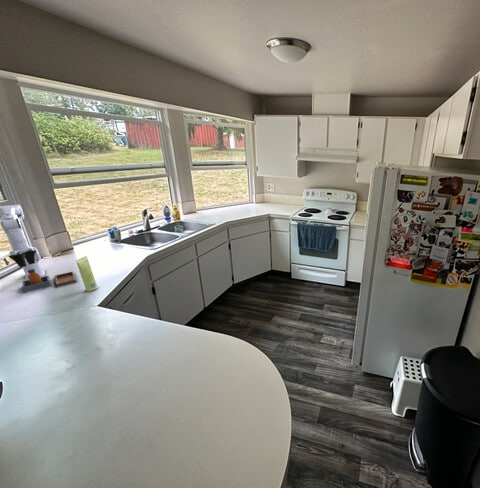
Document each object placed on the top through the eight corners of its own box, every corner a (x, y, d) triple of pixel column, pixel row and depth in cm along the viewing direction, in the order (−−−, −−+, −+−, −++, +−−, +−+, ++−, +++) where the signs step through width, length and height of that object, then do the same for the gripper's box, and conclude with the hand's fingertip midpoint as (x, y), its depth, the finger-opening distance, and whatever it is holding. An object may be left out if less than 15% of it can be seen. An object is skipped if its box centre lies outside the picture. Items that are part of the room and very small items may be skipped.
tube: (85, 289, 143) (74, 257, 136) (96, 285, 147) (86, 255, 140) (87, 292, 140) (75, 260, 133) (98, 289, 143) (88, 258, 136)
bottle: (32, 285, 144) (25, 269, 140) (43, 283, 147) (36, 267, 143) (32, 288, 141) (25, 272, 138) (43, 285, 144) (36, 270, 141)
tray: (55, 278, 154) (54, 275, 153) (74, 274, 159) (73, 271, 159) (57, 287, 144) (55, 284, 143) (76, 282, 150) (75, 279, 149)
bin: (24, 286, 144) (22, 281, 143) (50, 280, 151) (48, 275, 150) (24, 293, 137) (21, 287, 136) (51, 286, 145) (48, 281, 143)
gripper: (18, 241, 129) (29, 266, 132) (36, 238, 142) (45, 261, 145) (-1, 244, 126) (10, 269, 129) (19, 240, 139) (28, 263, 142)
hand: (27, 265), depth 137 cm, fingers open, 7 cm apart
